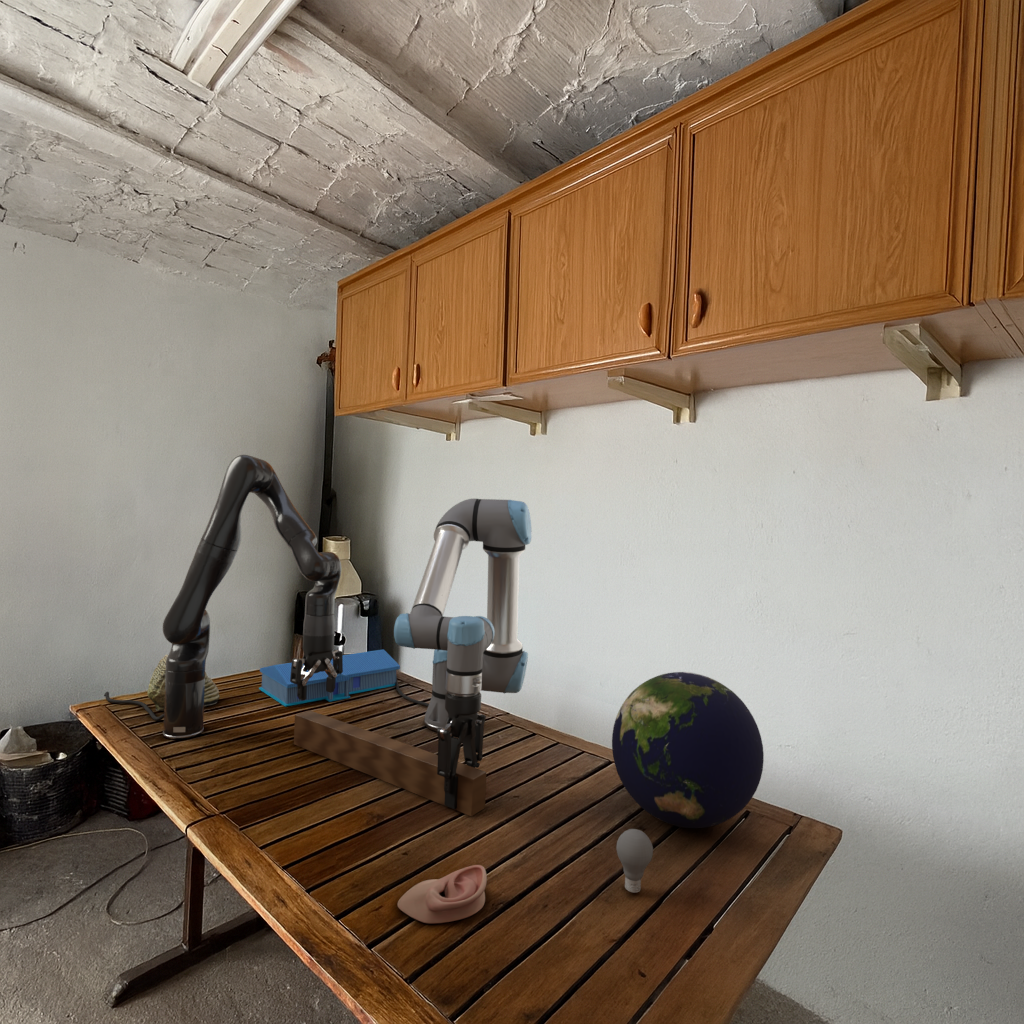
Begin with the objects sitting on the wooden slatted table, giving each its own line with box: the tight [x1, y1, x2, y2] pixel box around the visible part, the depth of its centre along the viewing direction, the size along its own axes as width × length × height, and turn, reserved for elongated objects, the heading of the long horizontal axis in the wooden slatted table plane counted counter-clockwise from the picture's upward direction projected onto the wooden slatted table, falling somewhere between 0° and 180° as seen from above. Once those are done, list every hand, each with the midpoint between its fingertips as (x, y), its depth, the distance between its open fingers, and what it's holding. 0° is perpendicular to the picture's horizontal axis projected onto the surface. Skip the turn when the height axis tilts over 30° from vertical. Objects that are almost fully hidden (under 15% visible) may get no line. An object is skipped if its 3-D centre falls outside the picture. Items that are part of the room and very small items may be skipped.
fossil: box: [147, 654, 221, 712], centre depth 185 cm, size 9×18×15 cm, turn 132°
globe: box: [611, 671, 765, 829], centre depth 130 cm, size 30×30×30 cm
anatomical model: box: [396, 864, 488, 925], centre depth 101 cm, size 13×4×12 cm
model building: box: [258, 649, 401, 707], centre depth 208 cm, size 39×24×10 cm, turn 132°
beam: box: [293, 710, 488, 817], centre depth 146 cm, size 57×5×8 cm, turn 56°
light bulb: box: [615, 828, 654, 894], centre depth 106 cm, size 6×6×10 cm
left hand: (316, 695), depth 159 cm, fingers open, 8 cm apart
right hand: (458, 801), depth 133 cm, fingers closed on beam, 5 cm apart
